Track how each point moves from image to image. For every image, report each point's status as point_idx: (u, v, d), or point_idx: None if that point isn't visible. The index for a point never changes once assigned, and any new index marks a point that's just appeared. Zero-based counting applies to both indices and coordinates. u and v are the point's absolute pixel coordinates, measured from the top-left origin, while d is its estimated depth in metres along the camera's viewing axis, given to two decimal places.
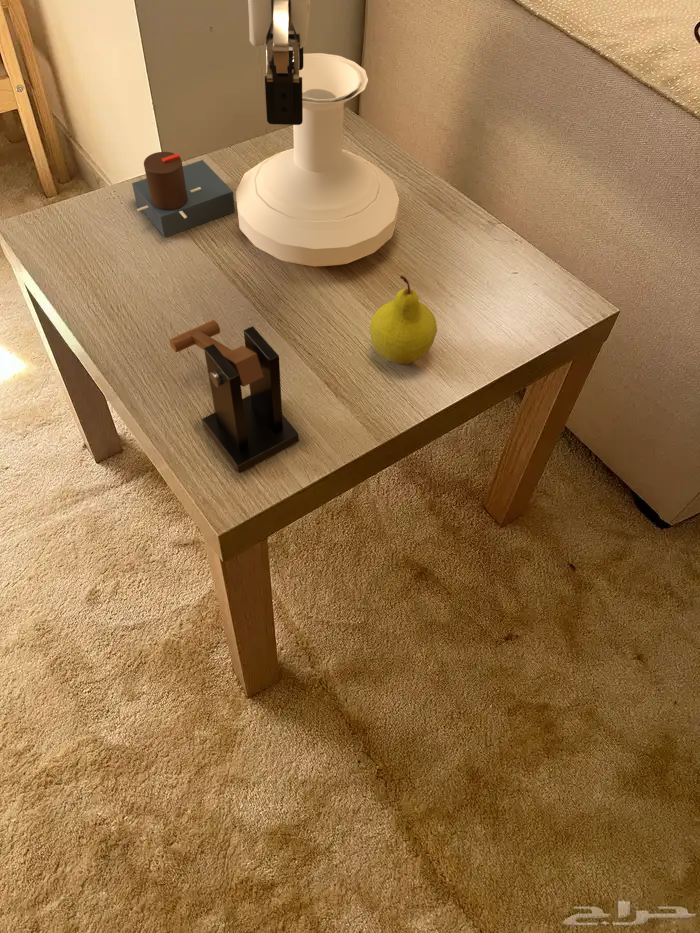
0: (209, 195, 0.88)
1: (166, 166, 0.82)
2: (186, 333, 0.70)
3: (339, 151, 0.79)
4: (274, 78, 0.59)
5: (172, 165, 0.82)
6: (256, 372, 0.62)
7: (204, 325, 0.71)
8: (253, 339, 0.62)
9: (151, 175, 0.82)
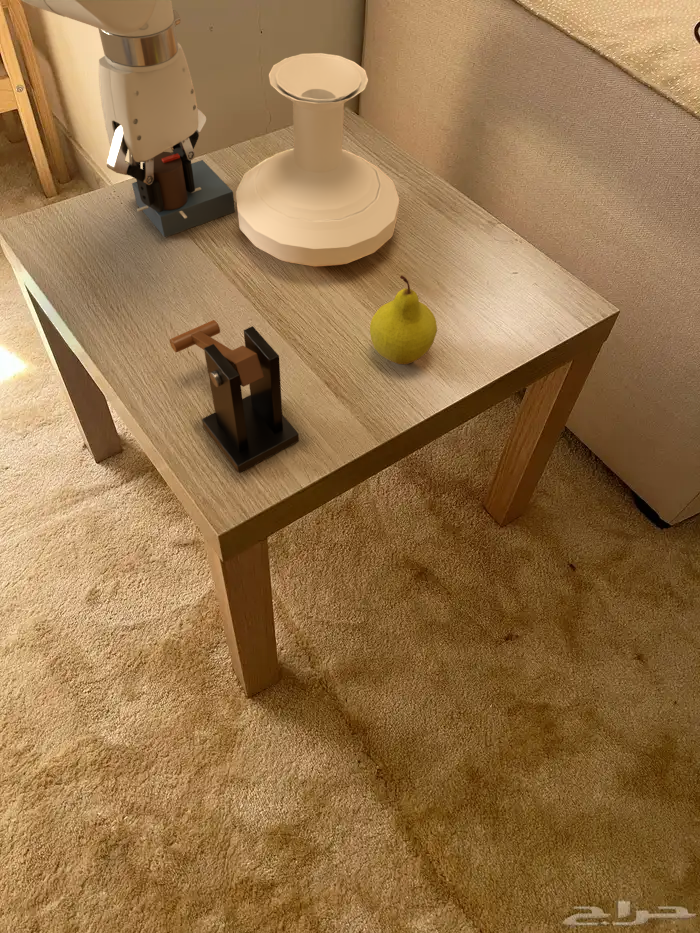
0: (209, 195, 0.88)
1: (166, 166, 0.82)
2: (186, 333, 0.70)
3: (339, 151, 0.79)
4: None
5: (172, 165, 0.82)
6: (256, 372, 0.62)
7: (204, 325, 0.71)
8: (253, 339, 0.62)
9: None
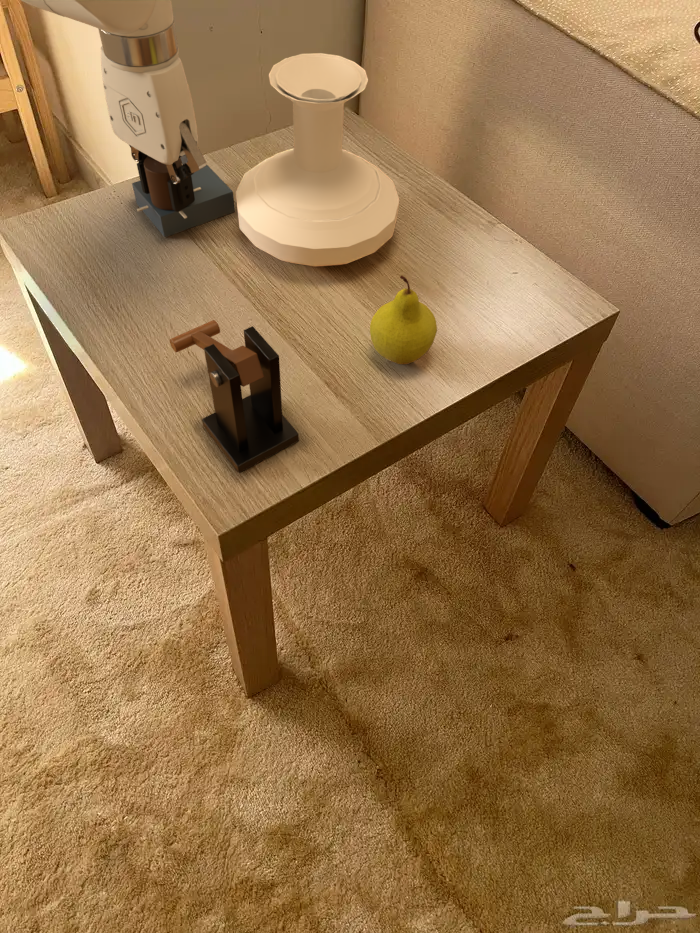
0: (209, 195, 0.88)
1: None
2: (186, 333, 0.70)
3: (339, 151, 0.79)
4: (184, 178, 0.81)
5: None
6: (256, 372, 0.62)
7: (204, 325, 0.71)
8: (253, 339, 0.62)
9: None
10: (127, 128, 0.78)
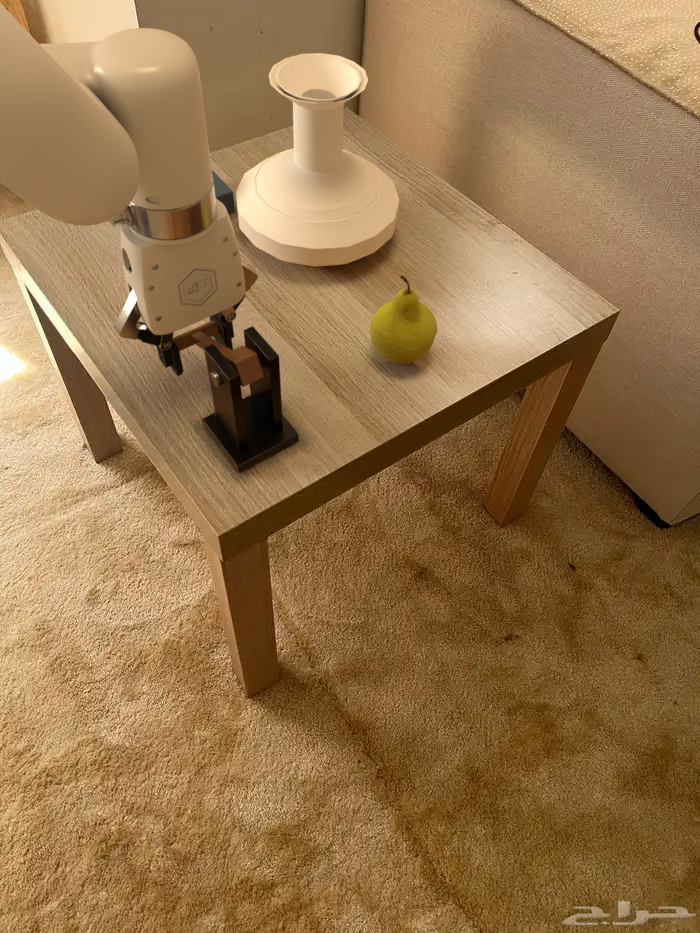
0: None
1: None
2: (186, 333, 0.70)
3: (339, 151, 0.79)
4: (236, 307, 0.70)
5: None
6: (256, 372, 0.62)
7: (204, 325, 0.71)
8: (253, 339, 0.62)
9: None
10: (187, 308, 0.64)
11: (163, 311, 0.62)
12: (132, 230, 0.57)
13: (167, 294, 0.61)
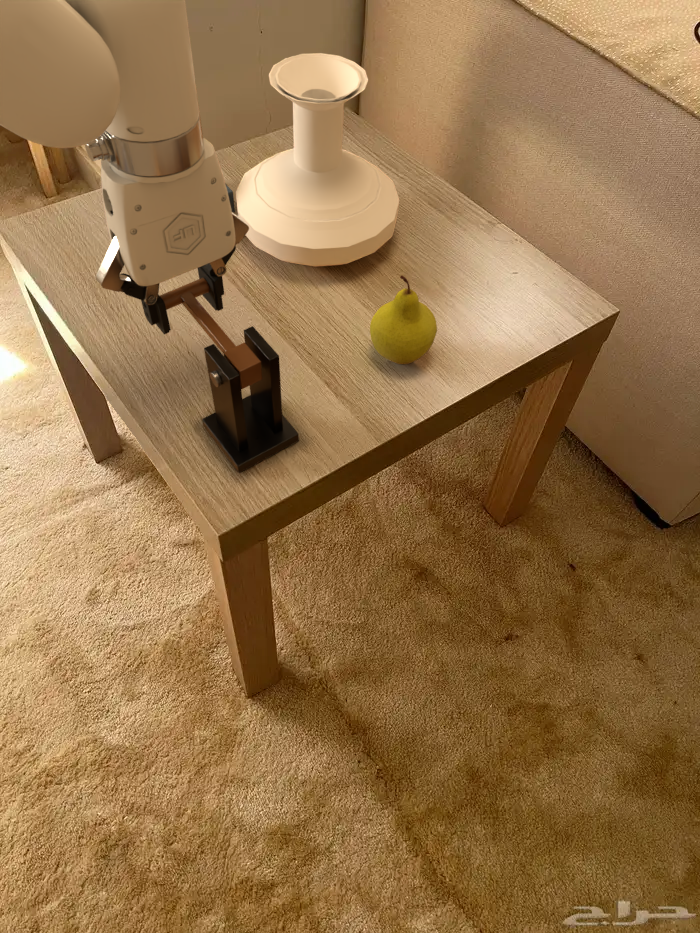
0: None
1: None
2: (175, 292, 0.66)
3: (339, 151, 0.79)
4: (226, 261, 0.67)
5: None
6: (256, 376, 0.62)
7: (194, 284, 0.67)
8: (253, 339, 0.62)
9: None
10: (173, 257, 0.60)
11: (147, 259, 0.59)
12: (113, 167, 0.54)
13: (151, 239, 0.57)
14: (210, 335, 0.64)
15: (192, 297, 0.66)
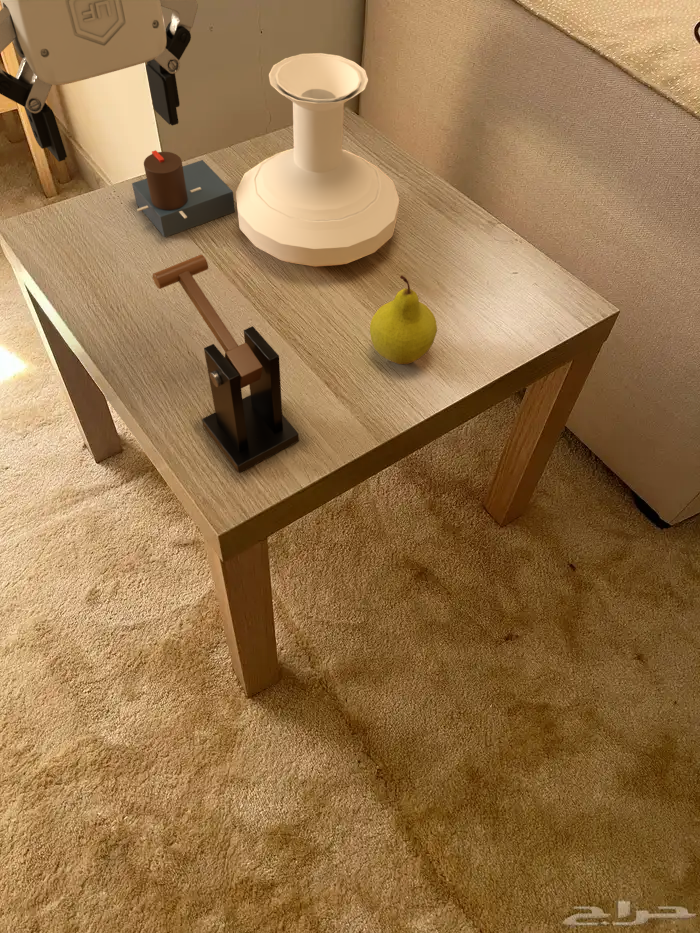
0: (209, 195, 0.88)
1: (171, 159, 0.83)
2: (173, 271, 0.64)
3: (339, 151, 0.79)
4: (180, 56, 0.55)
5: (169, 156, 0.83)
6: (255, 378, 0.63)
7: (193, 263, 0.64)
8: (253, 339, 0.62)
9: (178, 171, 0.83)
10: (84, 44, 0.48)
11: (50, 41, 0.47)
12: None
13: (52, 12, 0.46)
14: (209, 326, 0.63)
15: (191, 278, 0.64)
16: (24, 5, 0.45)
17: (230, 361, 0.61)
